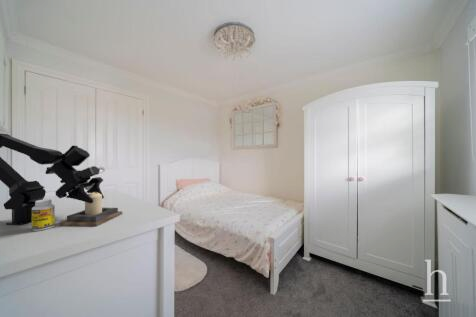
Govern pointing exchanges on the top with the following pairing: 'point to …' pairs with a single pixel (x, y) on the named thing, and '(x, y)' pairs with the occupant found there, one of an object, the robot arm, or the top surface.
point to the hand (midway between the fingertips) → (97, 200)
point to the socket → (91, 218)
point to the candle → (94, 204)
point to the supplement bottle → (43, 215)
